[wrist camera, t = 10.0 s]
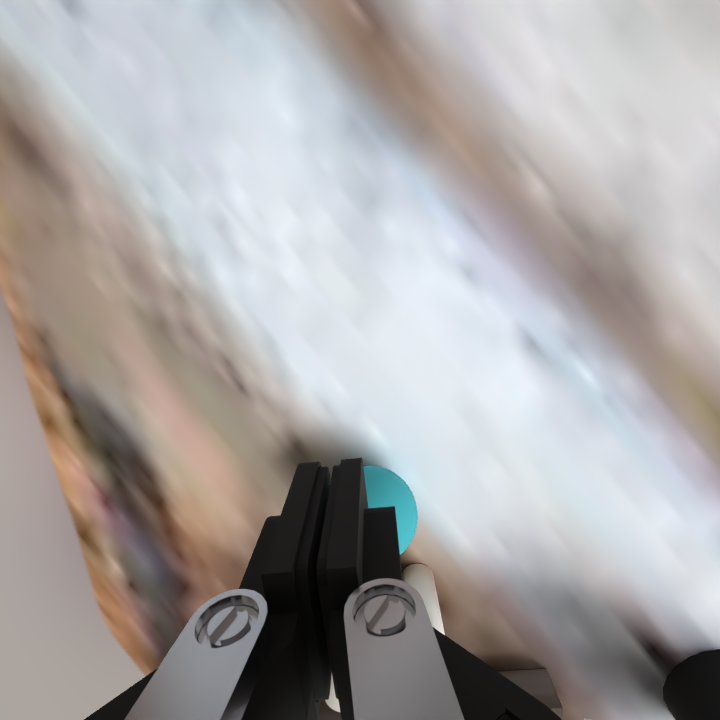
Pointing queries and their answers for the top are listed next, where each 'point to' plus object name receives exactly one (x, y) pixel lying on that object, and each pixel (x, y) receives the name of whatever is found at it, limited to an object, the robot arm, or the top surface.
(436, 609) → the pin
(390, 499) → the ball
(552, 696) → the back wall
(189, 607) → the top surface
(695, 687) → the wine bottle
